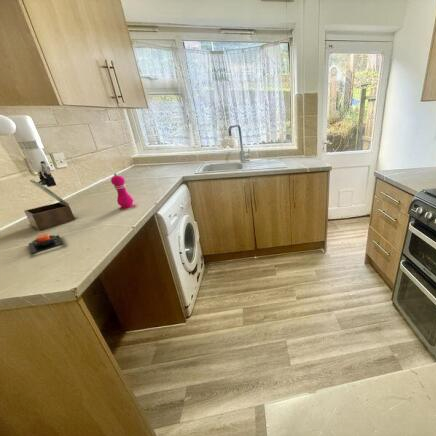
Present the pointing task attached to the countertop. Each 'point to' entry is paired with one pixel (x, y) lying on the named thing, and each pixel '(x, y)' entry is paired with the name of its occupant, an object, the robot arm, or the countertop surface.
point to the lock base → (45, 244)
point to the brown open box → (49, 215)
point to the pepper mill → (122, 192)
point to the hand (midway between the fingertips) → (49, 184)
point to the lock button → (43, 238)
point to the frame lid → (48, 191)
